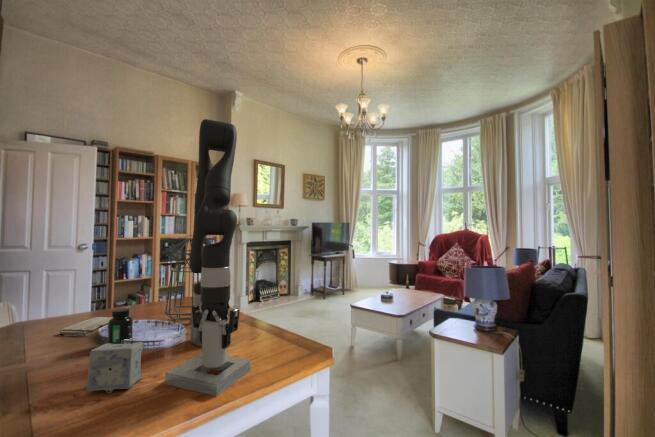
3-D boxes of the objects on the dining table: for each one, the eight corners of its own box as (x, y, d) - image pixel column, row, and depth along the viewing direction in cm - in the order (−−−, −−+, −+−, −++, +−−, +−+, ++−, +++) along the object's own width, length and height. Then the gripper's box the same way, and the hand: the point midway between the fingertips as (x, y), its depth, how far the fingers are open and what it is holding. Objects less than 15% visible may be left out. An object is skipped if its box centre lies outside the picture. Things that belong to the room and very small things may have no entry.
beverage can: (219, 370, 81) (219, 323, 81) (196, 368, 82) (197, 321, 82) (231, 360, 87) (232, 316, 87) (210, 358, 88) (210, 314, 88)
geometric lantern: (173, 316, 138) (176, 236, 139) (210, 316, 140) (213, 237, 141) (157, 328, 122) (162, 238, 123) (199, 328, 124) (203, 239, 125)
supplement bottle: (118, 351, 101) (118, 313, 101) (102, 348, 103) (103, 311, 104) (137, 343, 108) (137, 308, 108) (122, 340, 110) (122, 306, 110)
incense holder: (143, 376, 85) (144, 337, 85) (129, 393, 77) (130, 350, 77) (103, 379, 83) (104, 339, 83) (84, 396, 75) (85, 352, 75)
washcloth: (56, 337, 114) (56, 328, 114) (96, 321, 132) (96, 314, 132) (87, 338, 113) (87, 329, 113) (123, 322, 131) (123, 315, 131)
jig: (165, 384, 81) (165, 372, 81) (204, 361, 94) (204, 351, 94) (216, 396, 75) (216, 383, 76) (250, 370, 89) (250, 360, 89)
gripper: (183, 283, 84) (183, 347, 83) (229, 288, 79) (228, 355, 78) (204, 279, 91) (203, 337, 90) (246, 282, 86) (245, 344, 86)
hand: (214, 345), depth 84 cm, fingers closed on beverage can, 6 cm apart
